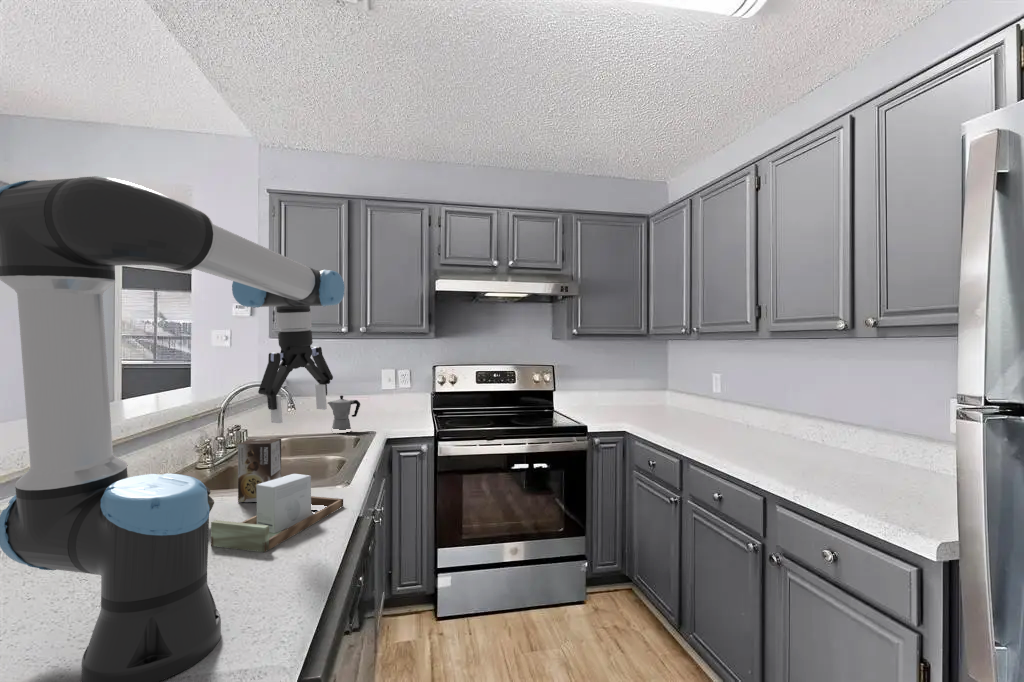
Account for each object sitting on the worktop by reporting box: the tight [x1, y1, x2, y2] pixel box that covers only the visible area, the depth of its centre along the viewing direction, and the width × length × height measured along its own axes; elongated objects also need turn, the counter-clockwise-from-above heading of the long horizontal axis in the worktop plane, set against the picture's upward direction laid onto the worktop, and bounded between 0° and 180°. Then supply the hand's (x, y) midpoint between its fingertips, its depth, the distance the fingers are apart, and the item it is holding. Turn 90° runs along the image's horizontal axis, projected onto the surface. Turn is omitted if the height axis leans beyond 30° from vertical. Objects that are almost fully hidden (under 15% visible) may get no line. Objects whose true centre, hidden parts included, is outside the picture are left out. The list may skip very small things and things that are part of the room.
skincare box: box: [256, 473, 312, 533], centre depth 110 cm, size 10×6×10 cm, turn 155°
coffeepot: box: [327, 395, 361, 430], centre depth 229 cm, size 15×9×18 cm, turn 100°
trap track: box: [210, 495, 344, 553], centre depth 110 cm, size 28×13×5 cm, turn 167°
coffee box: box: [237, 438, 282, 503], centre depth 128 cm, size 9×6×16 cm
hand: (300, 415), depth 115 cm, fingers open, 13 cm apart
